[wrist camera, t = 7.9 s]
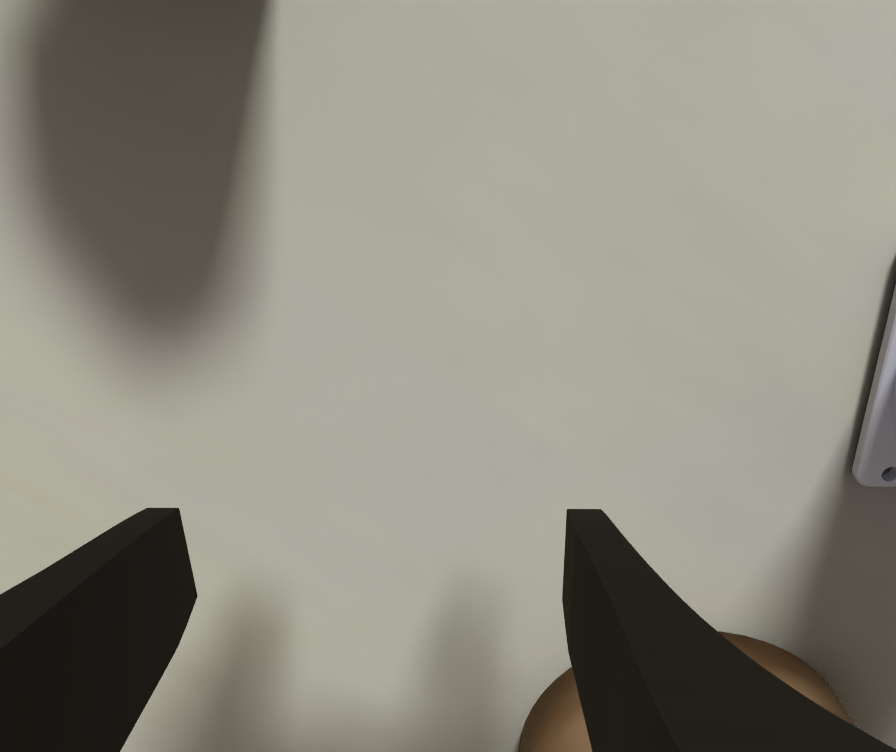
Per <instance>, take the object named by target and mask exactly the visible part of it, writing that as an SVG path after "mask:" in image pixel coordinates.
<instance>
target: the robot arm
mask: <svg viewBox="0 0 896 752" xmlns="http://www.w3.org/2000/svg"><path fill="white" fill-rule="evenodd" d="M889 467H892V468H891V470H890V472H888V473H887V474H885V475H882V473H883V471H884V470H885V469H887V468H889ZM852 474H853V476H854V478H855V479H856V480H857V481H858V482H859V483H860V484H862V485H863V486H867V487H896V286H895V290H894V294H893V298H892V302H891V307H890V311H889V315H888V319H887V324H886V328H885V332H884V336H883V341H882V345H881V349H880V353H879V357H878V362H877V366H876V370H875V374H874V379H873V383H872V387H871V391H870V396H869V400H868V404H867V408H866V412H865V417H864V421H863V425H862V429H861V434H860V438H859V442H858V446H857V451H856V455H855V459H854V463H853V467H852ZM196 599H197V592H196V587H195V582H194V578H193V573H192V568H191V563H190V558H189V554H188V549H187V544H186V539H185V534H184V530H183V525H182V520H181V515H180V511H179V508H146V509H144V510H142V511H140V512H138V513H136V514H135V515H133V516H131V517H129V518H127V519H126V520H124V521H122V522H121V523H119V524H117V525H116V526H114V527H112V528H111V529H109V530H107V531H106V532H104V533H102V534H101V535H99V536H98V537H96V538H94V539H93V540H91V541H90V542H88V543H86V544H85V545H83V546H81V547H80V548H78V549H77V550H75V551H73V552H72V553H70V554H68V555H67V556H65V557H64V558H62V559H60V560H59V561H57V562H55V563H54V564H52V565H51V566H49V567H47V568H46V569H44V570H42V571H41V572H39V573H37V574H35V575H34V576H32V577H30V578H28V579H27V580H25V581H23V582H21V583H20V584H18V585H16V586H14V587H13V588H11V589H9V590H7V591H6V592H4V593H2V594H0V752H120V751H121V749H122V747H123V745H124V743H125V742H126V740H127V738H128V736H129V734H130V733H131V731H132V729H133V727H134V725H135V724H136V722H137V720H138V718H139V716H140V715H141V713H142V711H143V709H144V708H145V706H146V704H147V702H148V700H149V699H150V697H151V695H152V693H153V691H154V690H155V688H156V686H157V684H158V682H159V681H160V679H161V677H162V675H163V673H164V671H165V670H166V668H167V666H168V664H169V662H170V660H171V659H172V657H173V655H174V653H175V651H176V649H177V647H178V645H179V643H180V640H181V638H182V635H183V633H184V630H185V628H186V626H187V623H188V620H189V618H190V615H191V612H192V609H193V607H194V604H195V601H196ZM562 601H563V610H564V619H565V627H566V635H567V643H568V651H569V656H570V660H571V665H572V669H573V673H574V677H575V682H576V686H577V690H578V694H579V698H580V703H581V707H582V711H583V715H584V719H585V723H586V727H587V732H588V736H589V740H590V744H591V748H592V752H896V749H894V748H892V747H890V746H888V745H886V744H884V743H883V742H881V741H879V740H877V739H875V738H874V737H872V736H870V735H869V734H867V733H865V732H863V731H862V730H860V729H858V728H857V727H855V726H853V725H851V724H850V723H848V722H846V721H845V720H843V719H841V718H839V717H838V716H836V715H834V714H833V713H831V712H829V711H828V710H826V709H825V708H823V707H821V706H820V705H818V704H817V703H815V702H814V701H812V700H810V699H809V698H807V697H806V696H804V695H803V694H801V693H800V692H798V691H797V690H795V689H794V688H792V687H791V686H789V685H788V684H787V683H785V682H784V681H782V680H781V679H779V678H778V677H776V676H775V675H773V674H772V673H770V672H769V671H768V670H766V669H765V668H763V667H762V666H761V665H759V664H758V663H757V662H755V661H754V660H753V659H751V658H750V657H749V656H747V655H746V654H745V653H743V652H742V651H741V650H740V649H738V648H737V647H736V646H735V645H734V644H732V643H731V642H730V641H729V640H727V639H726V638H725V637H724V636H722V635H721V634H720V633H719V632H717V631H716V630H715V629H714V628H713V627H711V626H710V625H709V624H708V623H707V622H706V621H704V620H703V619H702V618H701V617H700V616H699V615H698V614H697V613H696V612H695V611H694V610H693V609H691V608H690V607H689V606H688V605H687V604H686V603H685V602H684V601H683V600H682V599H681V598H680V597H679V596H678V595H677V594H676V593H675V592H674V591H673V590H672V589H671V588H670V587H669V586H668V585H667V584H666V583H665V582H664V581H663V580H662V578H661V577H660V576H659V575H658V574H657V573H656V572H655V571H654V570H653V569H652V568H651V567H650V566H649V565H648V564H647V562H646V561H645V560H644V559H643V558H642V557H641V556H640V555H639V553H638V552H637V551H636V550H635V549H634V548H633V546H632V545H631V544H630V543H629V542H628V541H627V539H626V538H625V537H624V536H623V535H622V533H621V532H620V531H619V530H618V528H617V527H616V526H615V525H614V524H613V522H612V521H611V520H610V519H609V517H608V516H607V515H606V514H605V513H604V512H603V511H602V510H601V509H567V518H566V538H565V557H564V577H563V597H562Z"/></svg>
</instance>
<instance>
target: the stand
mask: <svg viewBox="0 0 896 752" xmlns="http://www.w3.org/2000/svg"><path fill="white" fill-rule="evenodd" d="M719 633H720V634H721V635H722V636H724V637H725V638H726V639H727V640H729V641H730V642H731V643H732V644H734V645H735V646H736V647H737V648H738V649H740V650H741V651H742V652H743V653H745V654H746V655H747V656H749V657H750V658H751V659H753V660H754V661H755V662H757V663H758V664H759V665H761V666H762V667H763V668H765V669H766V670H768V671H769V672H770V673H772V674H773V675H775V676H776V677H778V678H779V679H781V680H782V681H784V682H785V683H787V684H788V685H789V686H791V687H792V688H794V689H795V690H797V691H798V692H800V693H801V694H803V695H804V696H806V697H807V698H809V699H810V700H812V701H814V702H815V703H817V704H818V705H820V706H821V707H823V708H825V709H826V710H828V711H829V712H831V713H833V714H834V715H836V716H838V717H839V718H841V719H843V720H845V721H846V722H848V723H850V724H851V725H853V723H852V722H851V720H850V718H849V717H848V715H847V714H846V712H845V710H844V709H843V707H842V705H841V704H840V702H839V700H838V699H837V697H836V696H835V694H834V693H833V691H832V689H831V688H830V686H829V685H828V684H827V683H826V681H825V680H824V679H823V678H822V677H821V676H820V675H819V674H818V673H817V672H816V671H815V670H814V669H813V668H811V667H810V666H809V665H807V664H806V663H805V662H804V661H802V660H801V659H799V658H798V657H796V656H794V655H792V654H791V653H789V652H787V651H785V650H783V649H781V648H779V647H776V646H774V645H772V644H769V643H767V642H764V641H761V640H757V639H754V638H750V637H747V636H742V635H737V634H731V633H725V632H719ZM853 726H854V725H853ZM519 752H592V748H591V744H590V740H589V736H588V732H587V727H586V723H585V719H584V715H583V711H582V707H581V703H580V698H579V694H578V690H577V686H576V682H575V677H574V673H573V669H572V667H571V668H570V669H569V670H567V671H566V672H565V673H564V674H562V675H561V676H560V677H559V678H557V679H556V680H555V681H554V682H553V683H552V684H551V685H550V686H549V687H548V688H547V690H546V691H545V692H544V693H543V694H542V695H541V697H540V698H539V699H538V701H537V702H536V704H535V705H534V706H533V708H532V710H531V712H530V714H529V716H528V718H527V720H526V722H525V725H524V728H523V732H522V735H521V740H520V749H519Z"/></svg>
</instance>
